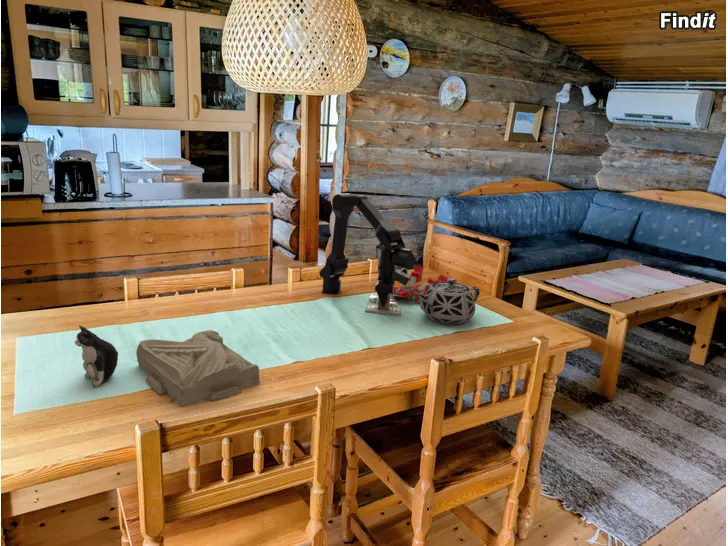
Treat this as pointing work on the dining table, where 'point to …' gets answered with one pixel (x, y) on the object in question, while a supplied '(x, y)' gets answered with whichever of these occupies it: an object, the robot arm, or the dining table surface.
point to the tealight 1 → (373, 298)
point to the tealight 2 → (393, 304)
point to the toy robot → (412, 288)
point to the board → (375, 310)
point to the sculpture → (195, 368)
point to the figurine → (96, 356)
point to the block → (385, 304)
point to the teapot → (449, 302)
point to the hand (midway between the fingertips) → (383, 303)
